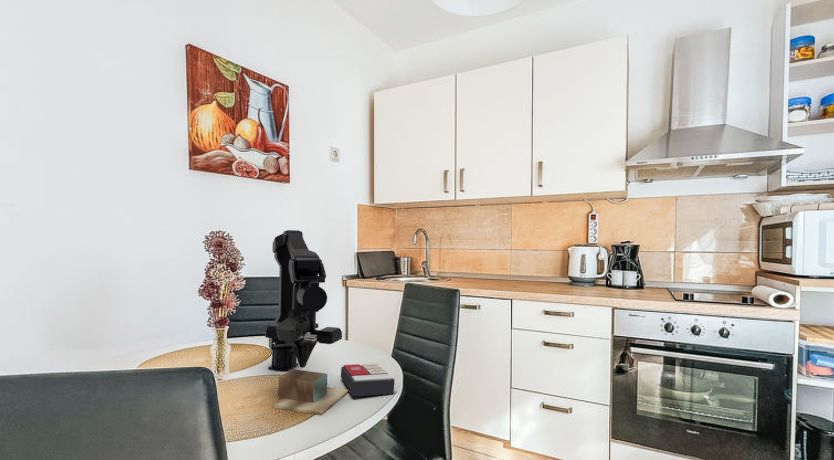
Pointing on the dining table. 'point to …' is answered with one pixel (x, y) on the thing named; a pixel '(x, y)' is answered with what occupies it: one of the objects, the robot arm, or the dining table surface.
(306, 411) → the beige cloth
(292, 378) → the walnut block
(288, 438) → the dining table surface
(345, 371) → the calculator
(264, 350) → the dining table surface
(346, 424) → the dining table surface
